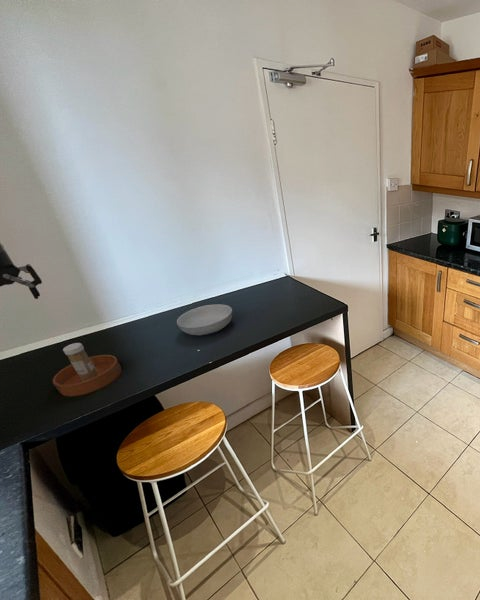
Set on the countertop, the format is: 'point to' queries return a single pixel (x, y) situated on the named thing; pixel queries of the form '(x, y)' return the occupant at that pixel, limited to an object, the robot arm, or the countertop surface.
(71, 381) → the pan
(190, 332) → the serving bowl
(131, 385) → the countertop surface
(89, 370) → the sprinkles bottle
